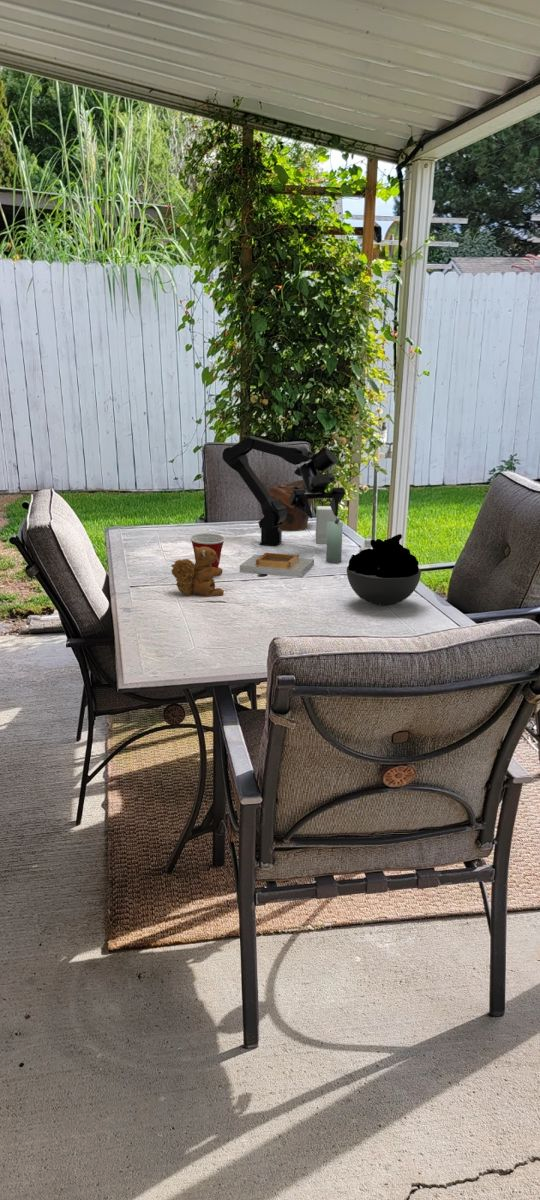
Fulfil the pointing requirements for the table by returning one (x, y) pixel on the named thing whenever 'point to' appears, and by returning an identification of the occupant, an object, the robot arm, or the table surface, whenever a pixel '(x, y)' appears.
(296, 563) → the grey flat block
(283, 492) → the brown wooden pot
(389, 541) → the coal bowl
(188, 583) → the stuffed squirrel
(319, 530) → the supplement box
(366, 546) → the eye dropper bottle
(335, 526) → the spout can
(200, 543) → the plastic cup
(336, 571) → the table surface
